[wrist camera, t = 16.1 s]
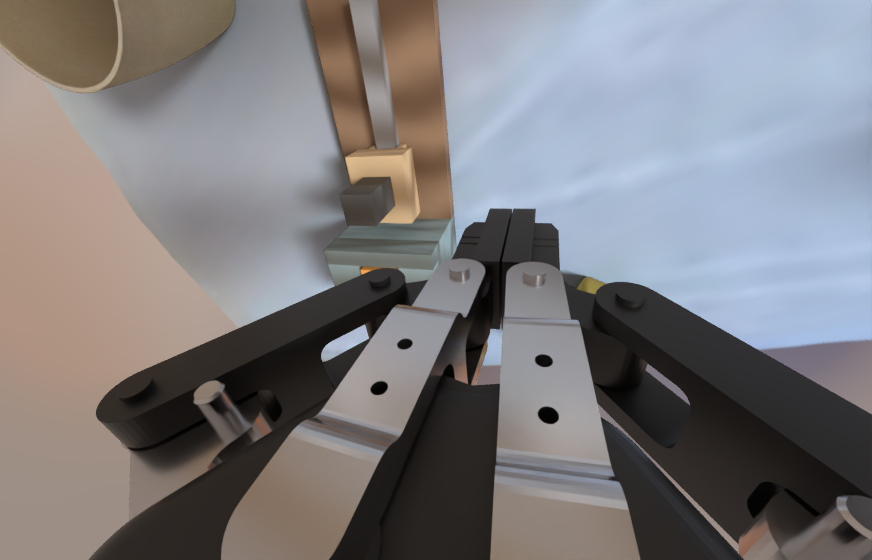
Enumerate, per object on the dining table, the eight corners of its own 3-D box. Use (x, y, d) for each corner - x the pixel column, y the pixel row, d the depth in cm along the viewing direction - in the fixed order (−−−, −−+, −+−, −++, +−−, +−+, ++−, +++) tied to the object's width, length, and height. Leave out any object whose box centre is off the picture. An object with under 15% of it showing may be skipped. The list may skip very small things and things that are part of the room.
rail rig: (313, -5, 33) (238, -18, 25) (434, -27, 30) (392, -50, 22) (375, 265, 50) (342, 309, 42) (458, 270, 46) (439, 318, 38)
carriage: (364, 146, 38) (318, 173, 31) (416, 143, 37) (381, 171, 29) (376, 206, 42) (338, 243, 35) (424, 206, 40) (395, 246, 33)
